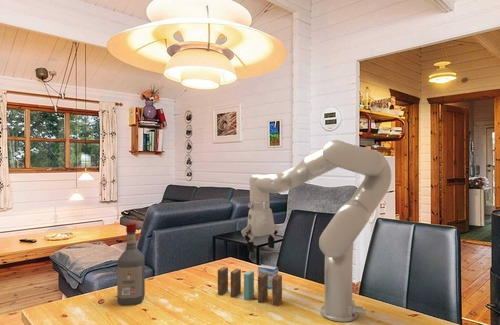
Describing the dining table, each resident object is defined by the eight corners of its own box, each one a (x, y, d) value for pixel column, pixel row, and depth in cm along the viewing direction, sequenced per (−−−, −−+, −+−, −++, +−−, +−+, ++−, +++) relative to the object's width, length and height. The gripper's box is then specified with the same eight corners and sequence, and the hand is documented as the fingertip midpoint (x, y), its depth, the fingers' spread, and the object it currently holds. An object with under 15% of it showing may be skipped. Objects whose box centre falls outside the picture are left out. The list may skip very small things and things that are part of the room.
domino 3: (254, 296, 138) (253, 271, 138) (248, 300, 134) (248, 274, 134) (249, 295, 139) (249, 270, 139) (244, 299, 134) (243, 274, 134)
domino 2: (240, 293, 141) (240, 269, 141) (234, 297, 136) (234, 272, 136) (236, 292, 141) (236, 268, 141) (230, 297, 137) (230, 272, 137)
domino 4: (267, 298, 135) (267, 273, 135) (262, 303, 131) (262, 277, 131) (263, 297, 136) (263, 272, 136) (257, 302, 132) (257, 276, 132)
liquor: (141, 305, 129) (140, 225, 129) (116, 306, 128) (115, 226, 128) (145, 295, 139) (145, 221, 139) (122, 296, 137) (121, 222, 137)
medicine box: (257, 286, 148) (257, 266, 148) (262, 283, 152) (261, 264, 152) (274, 290, 145) (274, 269, 145) (278, 286, 148) (278, 266, 148)
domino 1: (228, 291, 143) (228, 267, 143) (221, 295, 139) (221, 270, 139) (223, 290, 144) (223, 266, 144) (217, 294, 140) (217, 270, 140)
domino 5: (282, 301, 133) (282, 275, 133) (277, 306, 128) (277, 279, 128) (277, 300, 134) (277, 274, 134) (272, 305, 129) (272, 278, 129)
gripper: (246, 208, 126) (247, 255, 126) (283, 204, 136) (284, 248, 135) (235, 207, 133) (237, 251, 132) (271, 203, 142) (273, 244, 142)
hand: (261, 249), depth 134 cm, fingers open, 9 cm apart
